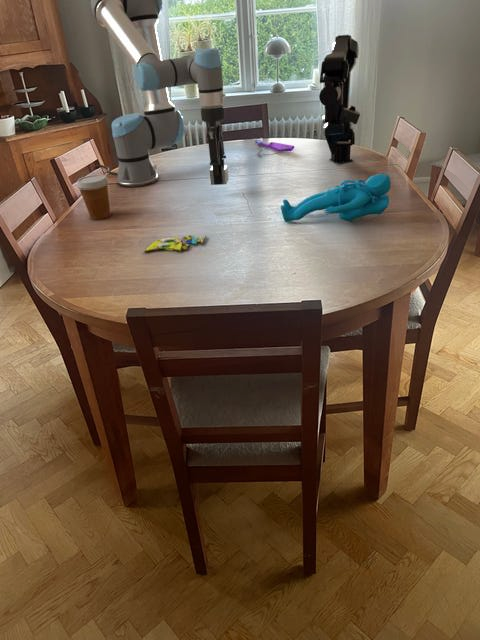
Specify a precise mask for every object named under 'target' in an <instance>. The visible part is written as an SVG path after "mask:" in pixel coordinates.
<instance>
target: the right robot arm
mask: <svg viewBox="0 0 480 640" xmlns="http://www.w3.org/2000/svg"><path fill="white" fill-rule="evenodd" d="M358 58H359V43H358V41H356V40H355V39H354V38H352V35H350V34H339V35H337V36H335V39H334V42H333V43H332V51H331V52H330V53H329V54H327V55H325V57H324V58H323V61H321V66H320V75H319V84H324V86H323V87H322V88H321V90H320V92H319V95H318V97H319V103H321V104H322V105H323V107H324V112H323V113H324V114H323V116H322V127H323V133H324V137H325V140H326V143H327V146H328V148H329V151H330V158H329V161H331V162H333V163H335V164H344V163H348V162H352V161H353V158H351V147H352V146H354V145H355V144H356V142H355V141H356V134H355V132H354V128H353V125H357V124H358V121H359V119H360V117H361V113H360V112H359V111H357V109H356V106H354V105H350V92H351V91H350V90H351V78H352V77H351V76H352V75H351V74H352V71H353V69H354V68H355V66H356V64H357V59H358Z"/></svg>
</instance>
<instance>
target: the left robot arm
mask: <svg viewBox="0 0 480 640" xmlns="http://www.w3.org/2000/svg"><path fill="white" fill-rule="evenodd" d="M90 7H91V12H92V14H93V16H94V17H95V20H96V21H97V22H98V24H99V25H100V26H101V27H102V28H105V29H106V30H107V31H108V32H109V33H110V35H111V36H112V38H113V39H114V41H115V42H116V44H117V45H118V47H119V48H120V49H121V50H122V52H123V53H124V55H125V56H126V58H127V59H128V61H129V62H130V63H131V65H132V67H133V77H134V81H135V83H136V86H137V87H138V89H139V90H141V91H142V92H143V94H144V99H145V104H146V106H145V108H144V109H143V114H144V116H143V114H142V113H140V112H133V113H128V114H125V115H121V116H118V117H117V118H115V119H114V120H113V121H112V122H111V132H112V133H111V135H112V138H113V142H114V146H115V151H116V156H117V160H118V167H117V168H118V170H117V172H113V171H110V167H108V166H106V165H104V164H96V165H94V167H93V170H95V169H97V168H102V169H105V170H106V173H107V174H110V175H113V176H117V183H118V186H120V187H123V188H124V187H125V188H136V187H137V188H138V187H145V186H147V185H148V186H149V185H151V184H154V183H156V182H157V181H158V180H159V176H158V172H157V169H158V168H157V167H158V166H157V164H155V165H154V163H153V161H152V159H151V156H150V150H155V149H159V148H163V147H171V146H173V145H175V144H176V145H177V144H179V143H180V142H181V141H182V139H183V137H184V134H185V120H184V117H183V116H182V113H181V112H180V111H179V110H177V109H176V106H175V105H174V104H173V103H172V102H171V101H170V97H169V91H168V88H173V87H180V86H181V87H182V86H187V85H197V89H198V99H199V106H200V107H201V108H200V118H201V121H202V122H204V123H208V127H207V132H206V136H207V137H206V138H207V141H208V151H209V160H210V161H209V166H211V167H213V176H214V185H213V186H218V185H219V186H221V185H224V184H223V180H222V170H221V166H225V159H226V158H227V155H225V154H226V152H225V147H224V146H225V145H224V135H223V124H222V123H221V122H222V121H224V120H225V119H226V118H227V115H226V107H225V106H224V104H225V98H226V93H224V82H223V81H224V80H223V70H222V69H223V67H222V61H221V54H220V53H221V52H220V50H219V49H218V48H201V49H196V50H195V51H194V55H193V56H192V55H184V56H183V55H182V56H180V57H176V58H167V59H162V58H163V57H162V54H161V48H160V43H159V37H158V32H157V24H158V23H159V21H160V18H159V16H160V15H161V13H162V12H163V0H90Z"/></svg>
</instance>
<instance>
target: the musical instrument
mask: <svg viewBox="0 0 480 640" xmlns="http://www.w3.org/2000/svg"><path fill="white" fill-rule="evenodd" d="M254 142H255V143H256V144H258V145H261V146H264V147H263V148H261V149H260V150H259V151H257V156H265V154H260V153H261V152H262V151H263V150H265V149H266V148H268V149H271V150H274V151H277V152H274V153H270V154H269V153H267V156H272V155H277V154H279V153H282V152H292V151H293V150H294V149H295V145H292V144H287V143H281V142H274V141H271V142H269V143H266V142H263V141H261V140H260V139H259V140H254Z"/></svg>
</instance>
